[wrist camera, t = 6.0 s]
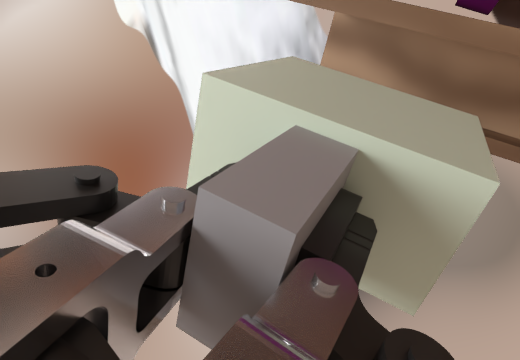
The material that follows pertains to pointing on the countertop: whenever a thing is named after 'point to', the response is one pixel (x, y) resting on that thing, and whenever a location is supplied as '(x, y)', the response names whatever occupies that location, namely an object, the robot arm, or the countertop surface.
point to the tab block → (322, 185)
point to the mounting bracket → (478, 5)
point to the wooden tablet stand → (432, 60)
